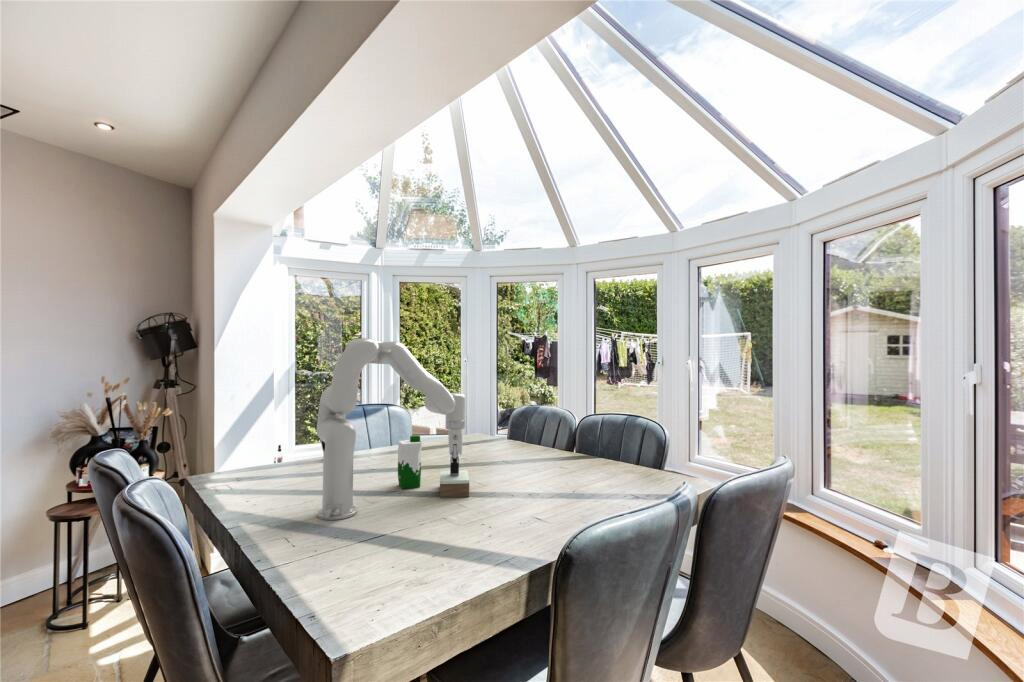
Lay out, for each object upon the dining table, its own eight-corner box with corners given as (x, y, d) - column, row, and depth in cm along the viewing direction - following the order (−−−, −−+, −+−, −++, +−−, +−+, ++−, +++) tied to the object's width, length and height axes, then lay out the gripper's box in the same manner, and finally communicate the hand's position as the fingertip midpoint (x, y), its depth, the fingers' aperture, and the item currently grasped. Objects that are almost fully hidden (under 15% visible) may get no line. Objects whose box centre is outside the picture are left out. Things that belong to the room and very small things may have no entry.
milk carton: (422, 487, 188) (423, 437, 189) (400, 490, 185) (400, 439, 185) (417, 482, 196) (418, 434, 197) (395, 484, 192) (396, 435, 193)
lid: (469, 483, 177) (469, 461, 178) (439, 484, 176) (440, 462, 176) (467, 473, 192) (467, 453, 192) (440, 473, 191) (440, 453, 191)
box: (469, 496, 177) (469, 483, 177) (439, 497, 176) (439, 484, 176) (467, 485, 192) (467, 473, 192) (440, 486, 191) (440, 473, 191)
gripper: (465, 427, 177) (464, 477, 177) (463, 421, 193) (463, 466, 193) (445, 428, 176) (444, 477, 175) (445, 421, 192) (444, 467, 192)
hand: (454, 471), depth 184 cm, fingers closed on lid, 3 cm apart
